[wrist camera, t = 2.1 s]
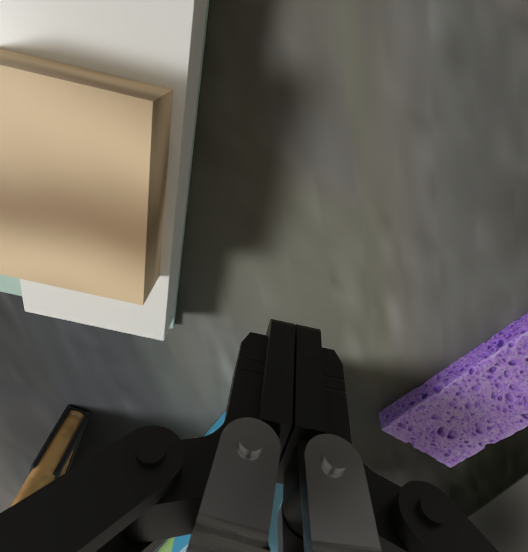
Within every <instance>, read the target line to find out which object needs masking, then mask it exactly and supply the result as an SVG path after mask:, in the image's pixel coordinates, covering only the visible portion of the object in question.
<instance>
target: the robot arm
mask: <svg viewBox="0 0 528 552" xmlns="http://www.w3.org/2000/svg"><path fill="white" fill-rule="evenodd" d="M276 483H280V484H283V500H282V502H281V505H280V507H279V510H278V516H277V524H278V552H498V551H497V549H496V548H495V547H494V546H493V545H492V544H491V543H490V542H489V541H488V540H487V539H486V538H485V536H484V535H483V534H482V533H481V532H480V531H479V530H478V529H477V528H476V527H475V526H474V524H473V523H472V522H471V521H470V520H469V519H468V518H467V517H466V516H465V515H464V513H463V512H462V511H461V510H460V509H459V508H458V507H457V506H456V505H455V504H454V503H453V501H452V500H451V499H450V498H449V497H448V496H447V495H446V494H445V493H444V492H442V491H441V490H440V489H439V488H437V487H435V486H434V485H432V484H430V483H427V482H424V481H411V482H408V483H406V484H405V485H404V486H403V487H400V486H398V485H396V484H395V483H393V482H391V481H389V480H387V479H385V478H383V477H381V476H380V475H378V474H376V473H374V472H373V471H372V470H370V469H369V468H368V467H367V466H366V465H365V464H364V463H363V462H362V459H361V457H360V455H359V453H358V451H357V450H356V449H355V448H354V446H353V445H352V442H351V436H350V427H349V418H348V409H347V401H346V394H345V383H344V374H343V365H342V363H341V361H340V359H339V358H338V356H337V354H336V352H335V351H334V350H331V349H327V348H322V345H321V331H320V329H315V328H311V327H306V326H302V325H297V324H296V325H295V324H292V323H287V322H283V321H278V320H274V319H271V320H270V323H269V326H268V329H267V333H266V335H261V334H257V333H252V332H250V333H249V334H248V336H247V337H246V338H245V339H244V340H243V341H242V342H241V346H240V350H239V354H238V358H237V363H236V367H235V371H234V375H233V380H232V385H231V390H230V395H229V400H228V405H227V410H226V415H225V420H224V423H223V424H222V425H221V427H219V428H218V429H217V430H216V431H215V432H213V433H211V434H209V435H207V436H204V437H200V438H193V439H184V440H180V438H179V437H178V436H177V435H176V434H175V433H174V432H172V431H171V430H169V429H167V428H164V427H160V426H146V427H142V428H139V429H136V430H135V431H133V432H131V433H129V434H128V435H126V436H124V437H123V438H121V439H120V440H118V441H116V442H115V443H113V444H112V445H110V446H108V447H107V448H105V449H103V450H102V451H100V452H99V453H97V454H95V455H94V456H92V457H91V458H89V459H87V460H86V461H84V462H83V463H81V464H79V465H78V466H76V467H74V468H73V469H71V470H70V471H68V472H66V473H65V474H63V475H62V476H60V477H58V478H57V479H55V480H53V481H52V482H50V483H49V484H47V485H45V486H44V487H42V488H41V489H39V490H37V491H36V492H34V493H32V494H31V495H29V496H28V497H26V498H24V499H23V500H21V501H20V502H18V503H16V504H15V505H13V506H11V507H10V508H8V509H7V510H5V511H3V512H2V513H0V552H153V551H154V550H155V549H156V548H157V547H158V546H159V545H160V544H162V543H163V541H164V540H165V539H168V538H173V537H178V536H184V535H189V534H191V537H190V540H189V544H188V547H187V550H186V552H271V550H270V546H269V544H268V541H269V531H270V524H271V516H272V509H273V502H274V495H275V487H276Z"/></svg>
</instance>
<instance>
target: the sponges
mask: <svg viewBox="0 0 528 552" xmlns="http://www.w3.org/2000/svg"><path fill="white" fill-rule="evenodd" d="M379 418H380V422H381V430H382V431H385V432H386V433H388V434H390V435H392V436H394V437H395V438H397V439H399V440H401V441H403V442H405V443H407V442H410V443H411V444H412V445H413V447H414V448H416V449H419V450H420V451H421V452H426V453H427V454H428V455H430V456H432V457H433V458H434V457H435V459H436V460H437V461H439V462H441V463H444V464H446V465H447V466H448V467H453V466H454V465H456V464H457V463H459V462H461V461H463V460H465V459H466V458H467V457H471V456H472V455H474V454H476V453H478V452H479V451H481V450H482V449H484V448H485V445H486V444H489V443H496V442H498V441H499V440H501V439H504V438H506V437H509V436H511V435H513V434H514V433H515V432H516V431H519V430H522V429H524V428H525V427H527V426H528V313H527V314H525V315H523V316H522V317H521V318H520V319H518V320H516V321H514V322H513V323H511V324H510V325H509V326H507V327H506V328H504V329H503V330H502V331H501V332H499V333H497V334H495V335H493V336H492V338H491V339H490V340H488V341H486V342H484V343H482V344H481V345H479V346H478V347H476V348H475V349H473V350H472V351H470V352H469V353H468V354H466V355H465V356H463V357H461V358H460V359H459V360H457V361H455V362H454V363H453V364H451V365H450V366H448V367H447V368H445V369H444V370H442V371H441V372H439V373H438V374H436V375H435V376H433V377H432V378H430V379H429V380H427V381H425V383H424V384H422V385H421V386H420V387H417V388H415V389H413V390H412V391H410V392H409V393H407V394H406V395H404V396H403V397H402V398H400V399H398V400H397V401H395V402H394V403H392V404H391V405H389V406H388V407H386V408H385V409H384V410H382V411H380V412H379Z"/></svg>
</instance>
